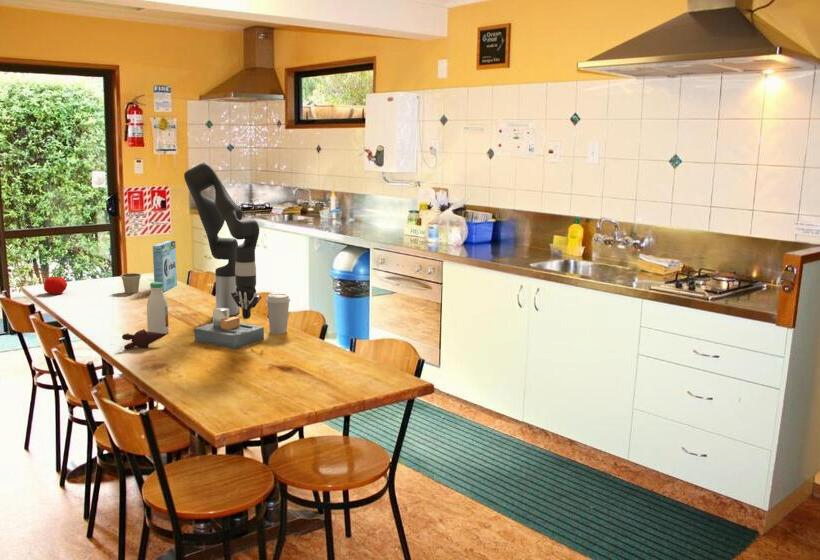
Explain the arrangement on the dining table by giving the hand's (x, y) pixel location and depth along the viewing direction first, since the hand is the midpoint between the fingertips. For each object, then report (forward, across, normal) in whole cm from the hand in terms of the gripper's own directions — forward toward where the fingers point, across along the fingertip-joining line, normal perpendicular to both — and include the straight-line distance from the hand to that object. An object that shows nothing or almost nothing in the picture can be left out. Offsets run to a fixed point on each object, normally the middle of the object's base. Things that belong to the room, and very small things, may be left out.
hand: (246, 318), depth 281 cm
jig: (+9, -6, -2) cm, 11 cm away
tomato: (+11, -130, +17) cm, 132 cm away
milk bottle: (+9, -37, -9) cm, 39 cm away
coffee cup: (+10, +1, +18) cm, 20 cm away
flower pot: (+11, -104, +39) cm, 112 cm away
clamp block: (+4, -6, -2) cm, 8 cm away
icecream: (+9, -26, -26) cm, 38 cm away
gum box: (+11, -98, +55) cm, 113 cm away
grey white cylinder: (+9, -10, -2) cm, 14 cm away
